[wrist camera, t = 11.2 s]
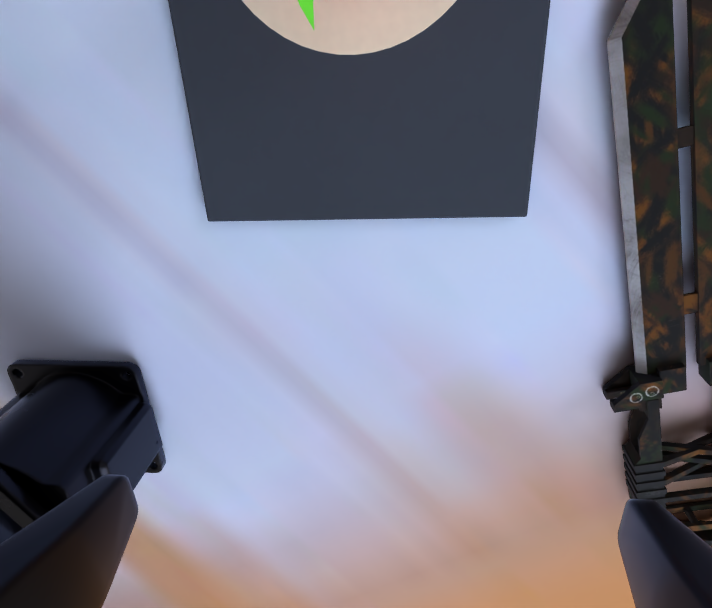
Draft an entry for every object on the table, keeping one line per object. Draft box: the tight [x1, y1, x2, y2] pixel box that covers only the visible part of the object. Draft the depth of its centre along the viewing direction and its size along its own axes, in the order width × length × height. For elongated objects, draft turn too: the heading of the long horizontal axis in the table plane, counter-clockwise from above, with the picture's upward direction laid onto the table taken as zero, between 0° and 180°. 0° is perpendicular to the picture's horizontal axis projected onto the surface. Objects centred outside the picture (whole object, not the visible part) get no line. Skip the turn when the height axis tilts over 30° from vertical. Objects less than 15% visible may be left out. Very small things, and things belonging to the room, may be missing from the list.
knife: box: [603, 0, 712, 548], centre depth 19 cm, size 25×6×1 cm, turn 12°
